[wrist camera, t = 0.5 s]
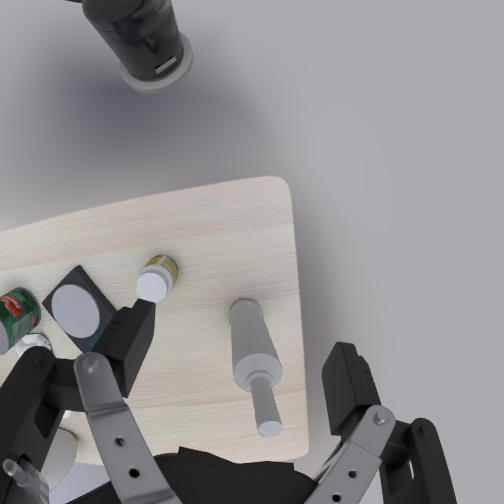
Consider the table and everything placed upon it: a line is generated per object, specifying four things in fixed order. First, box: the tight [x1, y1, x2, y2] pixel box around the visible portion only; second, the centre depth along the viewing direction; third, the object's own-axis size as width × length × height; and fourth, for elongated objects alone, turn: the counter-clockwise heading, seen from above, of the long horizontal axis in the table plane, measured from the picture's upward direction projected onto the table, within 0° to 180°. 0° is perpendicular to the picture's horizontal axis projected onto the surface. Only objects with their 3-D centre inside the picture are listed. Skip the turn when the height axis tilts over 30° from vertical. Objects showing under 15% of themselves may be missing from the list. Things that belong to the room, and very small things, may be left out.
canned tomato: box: [0, 287, 41, 355], centre depth 36 cm, size 8×8×11 cm
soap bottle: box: [40, 428, 77, 493], centre depth 35 cm, size 14×8×27 cm, turn 97°
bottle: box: [229, 299, 282, 437], centre depth 33 cm, size 5×5×25 cm
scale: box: [42, 265, 117, 353], centre depth 42 cm, size 12×10×3 cm
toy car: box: [15, 334, 71, 418], centre depth 42 cm, size 18×8×4 cm, turn 9°
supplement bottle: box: [136, 255, 178, 303], centre depth 39 cm, size 5×5×8 cm
